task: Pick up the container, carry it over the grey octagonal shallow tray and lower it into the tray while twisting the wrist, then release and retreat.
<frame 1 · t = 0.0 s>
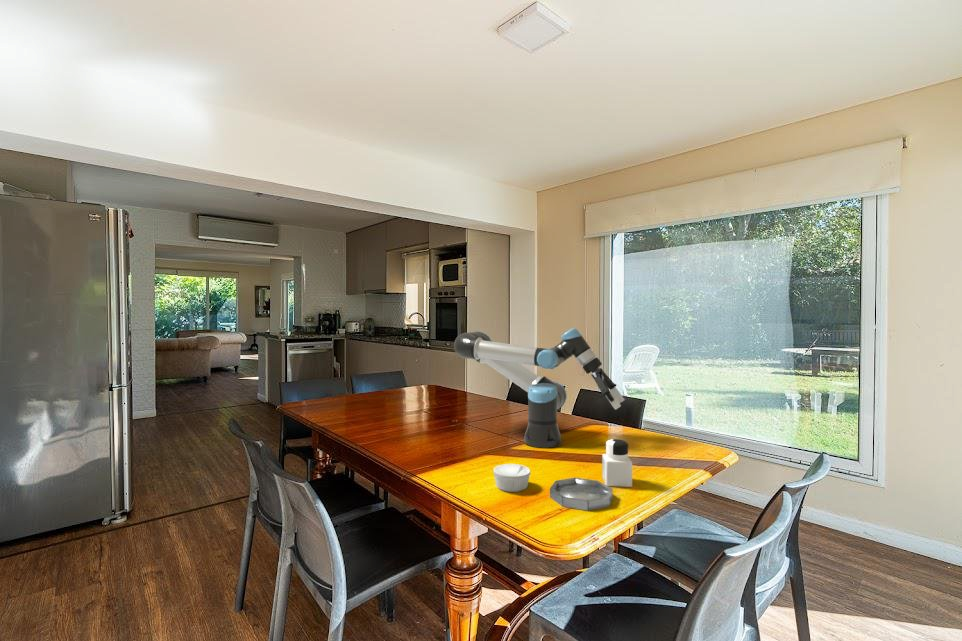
hand: (620, 404, 185), 15 cm above the table, tool tilted 35°, fingers open, 13 cm apart
ramekin: (511, 487, 138), on the table
container: (616, 482, 141), on the table
grey octagonal shallow tray: (581, 497, 130), on the table
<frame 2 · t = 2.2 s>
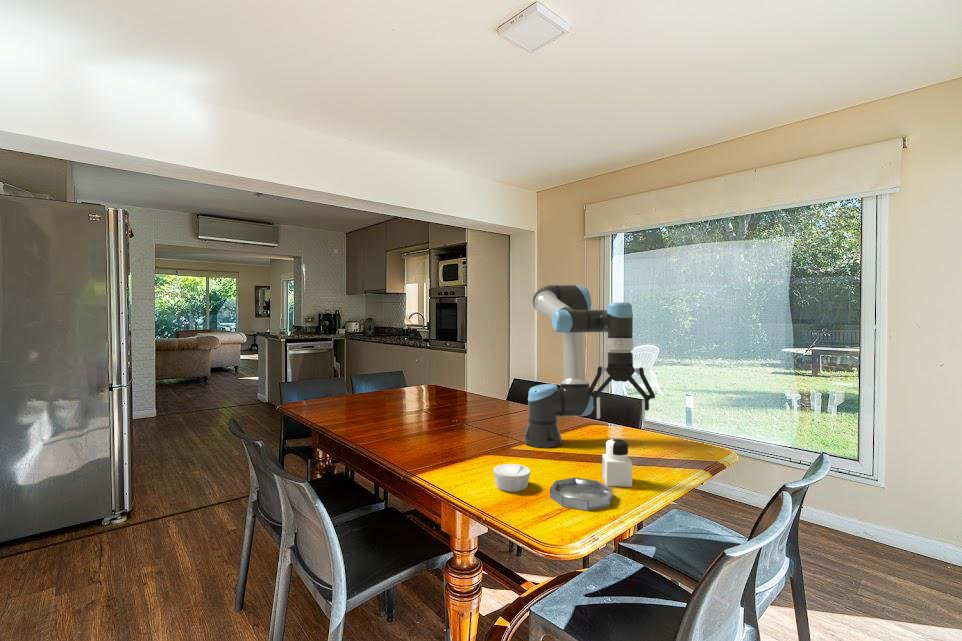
hand: (620, 419, 142), 19 cm above the table, tool pointing down, fingers open, 13 cm apart
nothing on the table moved.
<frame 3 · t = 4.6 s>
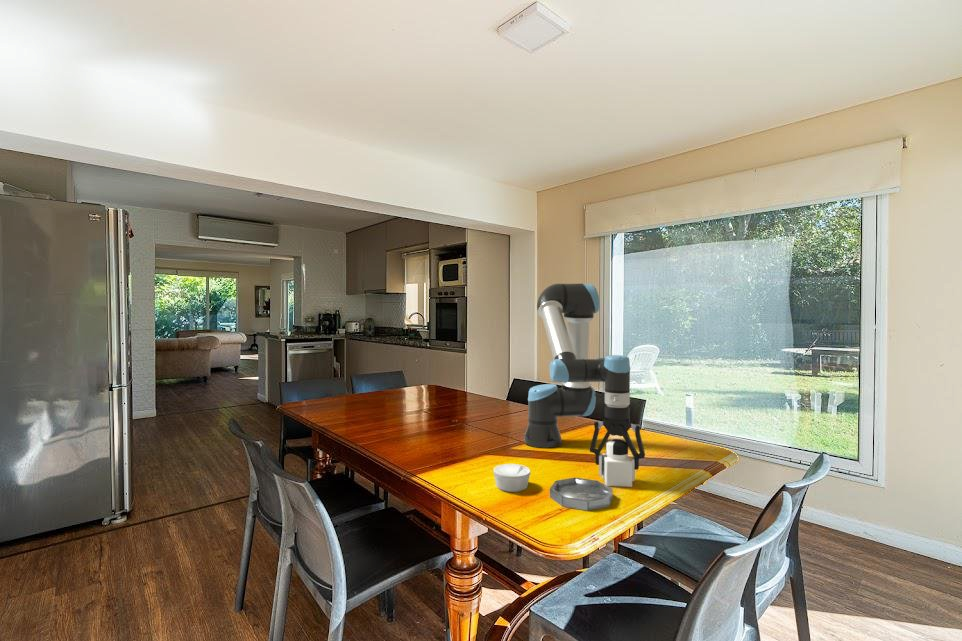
hand: (616, 477, 141), 2 cm above the table, tool pointing down, fingers closed on container, 9 cm apart
container: (616, 482, 141), on the table, touching gripper
everything else where it was.
when the fingers open (4 cm above the table, at t = 9.5 s): container drops 1 cm, resting on grey octagonal shallow tray.
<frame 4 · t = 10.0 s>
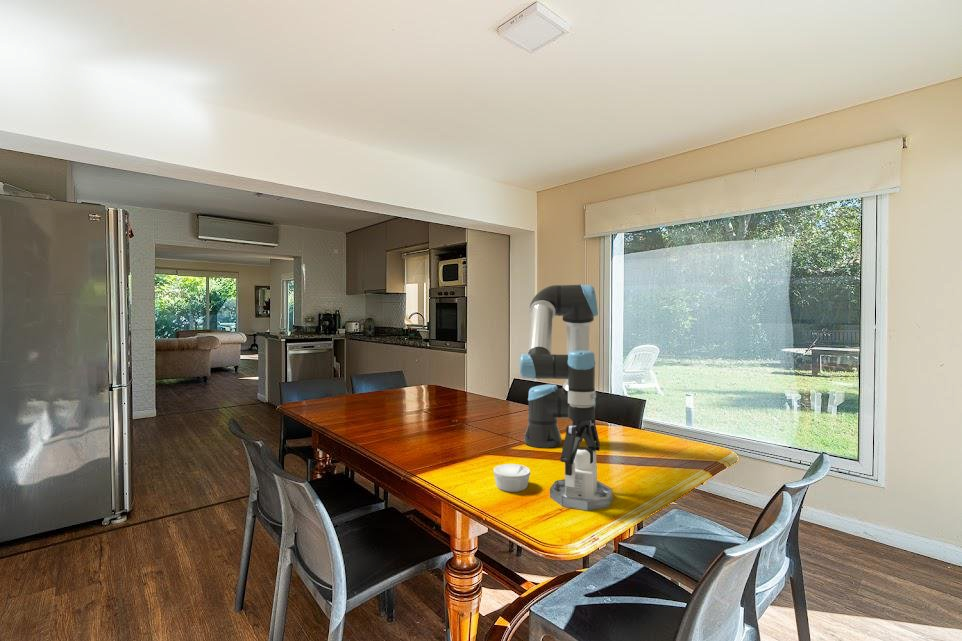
hand: (581, 479, 130), 5 cm above the table, tool pointing down, fingers open, 13 cm apart
container: (581, 494, 130), point 1 cm above the table, touching grey octagonal shallow tray
everything else where it was.
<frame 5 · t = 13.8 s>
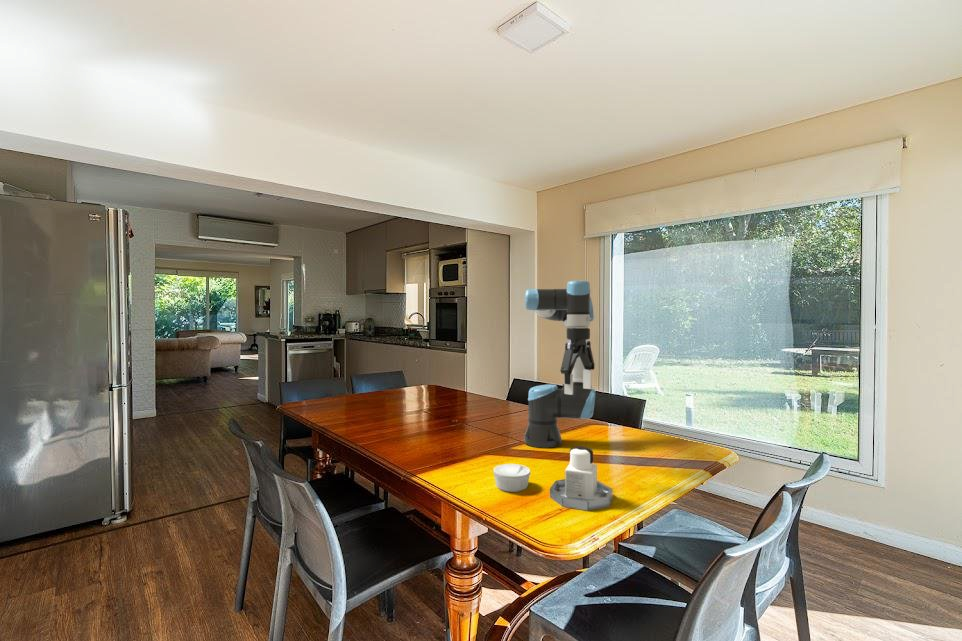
hand: (578, 391, 151), 27 cm above the table, tool pointing down, fingers open, 13 cm apart
nothing on the table moved.
at the end: container 0.1 cm from the grey octagonal shallow tray (horizontally); container point 0.8 cm above the table; container tilted 0° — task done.
